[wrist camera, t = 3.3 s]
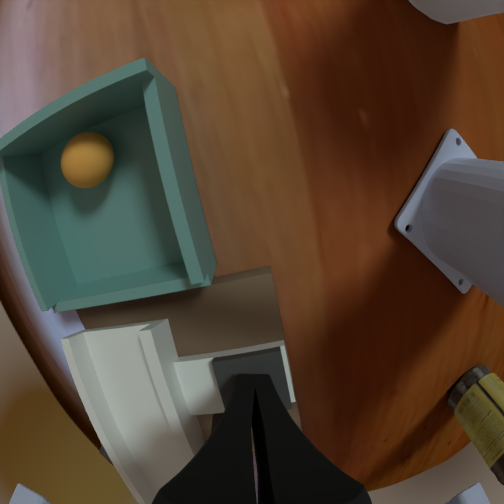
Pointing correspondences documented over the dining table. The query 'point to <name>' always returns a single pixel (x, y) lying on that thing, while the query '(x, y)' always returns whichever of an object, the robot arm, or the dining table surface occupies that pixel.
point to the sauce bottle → (482, 414)
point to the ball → (87, 160)
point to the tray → (159, 395)
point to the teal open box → (107, 196)
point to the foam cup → (458, 9)
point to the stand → (206, 321)
